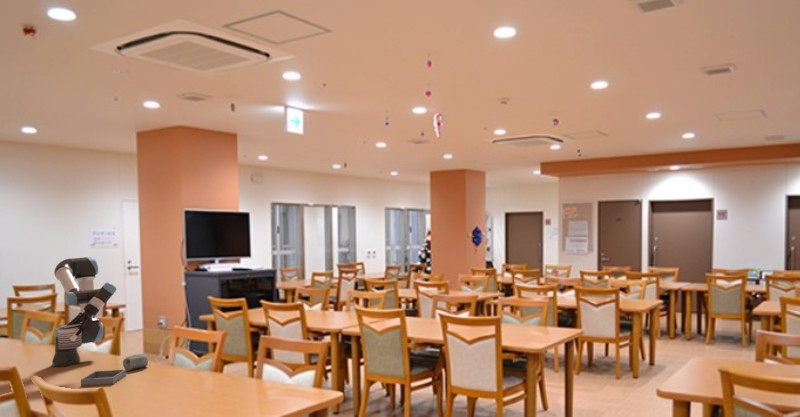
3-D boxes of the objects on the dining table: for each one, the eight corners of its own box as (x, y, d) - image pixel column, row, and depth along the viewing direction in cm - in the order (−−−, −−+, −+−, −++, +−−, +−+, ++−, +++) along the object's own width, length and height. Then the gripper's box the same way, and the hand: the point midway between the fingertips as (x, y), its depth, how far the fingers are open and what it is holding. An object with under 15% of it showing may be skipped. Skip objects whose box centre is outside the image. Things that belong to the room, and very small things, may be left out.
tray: (95, 377, 324) (95, 371, 324) (126, 375, 325) (125, 369, 325) (81, 386, 307) (80, 379, 307) (113, 384, 308) (113, 377, 308)
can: (63, 350, 315) (62, 328, 315) (54, 347, 322) (53, 326, 322) (85, 345, 324) (84, 324, 324) (76, 343, 331) (75, 322, 331)
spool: (125, 367, 329) (126, 350, 334) (119, 373, 335) (121, 356, 340) (150, 368, 338) (151, 352, 343) (144, 373, 344) (144, 357, 349)
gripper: (109, 312, 329) (81, 345, 316) (88, 309, 343) (61, 340, 330) (99, 304, 324) (71, 337, 312) (79, 301, 338) (51, 333, 326)
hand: (66, 339), depth 321 cm, fingers closed on can, 11 cm apart
